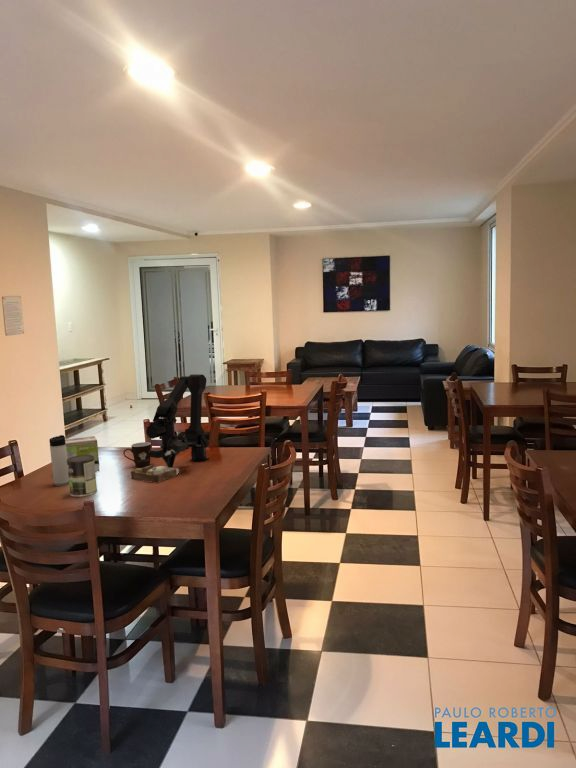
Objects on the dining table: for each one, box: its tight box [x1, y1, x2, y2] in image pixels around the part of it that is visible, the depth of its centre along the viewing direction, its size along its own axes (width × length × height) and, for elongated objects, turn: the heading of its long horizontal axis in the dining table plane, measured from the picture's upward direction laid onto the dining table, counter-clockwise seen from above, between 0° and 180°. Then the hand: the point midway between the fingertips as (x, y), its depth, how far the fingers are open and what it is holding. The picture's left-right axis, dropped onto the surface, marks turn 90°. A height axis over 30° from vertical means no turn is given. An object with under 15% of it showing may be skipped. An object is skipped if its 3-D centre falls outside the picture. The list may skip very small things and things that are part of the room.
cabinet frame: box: [130, 464, 178, 483], centre depth 259 cm, size 11×15×4 cm
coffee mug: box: [122, 441, 152, 469], centre depth 279 cm, size 12×9×10 cm
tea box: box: [65, 435, 100, 473], centre depth 274 cm, size 15×10×15 cm
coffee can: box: [67, 455, 98, 498], centre depth 242 cm, size 10×10×14 cm
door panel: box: [150, 465, 180, 475], centre depth 263 cm, size 7×11×4 cm, turn 55°
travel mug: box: [49, 434, 69, 487], centre depth 256 cm, size 6×7×20 cm
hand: (170, 469), depth 267 cm, fingers closed
